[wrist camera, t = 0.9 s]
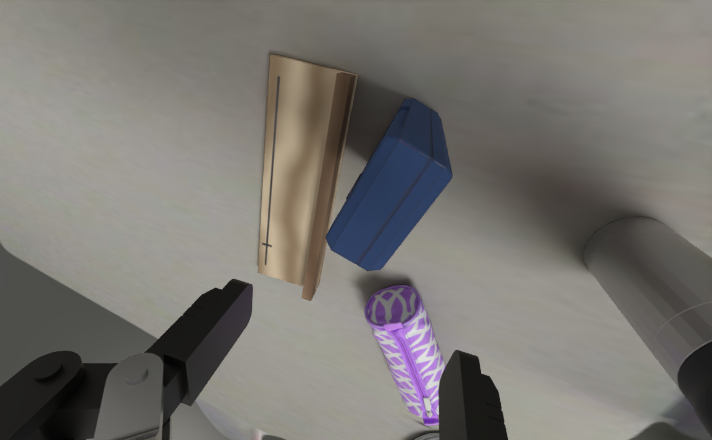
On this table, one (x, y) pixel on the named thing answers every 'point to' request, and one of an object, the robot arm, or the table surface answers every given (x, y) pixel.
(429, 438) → the cable
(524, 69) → the table surface
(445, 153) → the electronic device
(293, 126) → the guide board
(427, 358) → the pencil case
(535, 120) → the table surface
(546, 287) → the table surface
